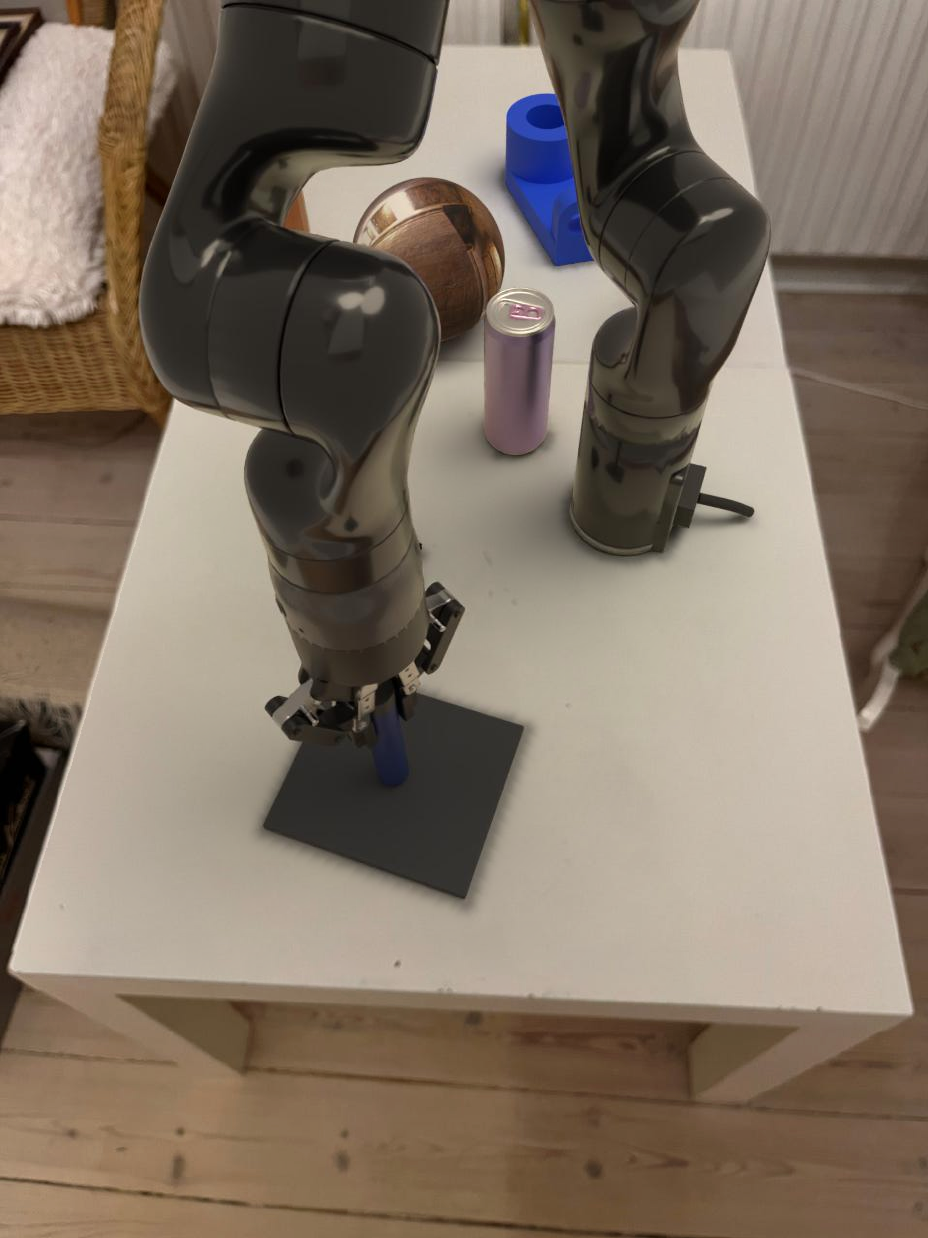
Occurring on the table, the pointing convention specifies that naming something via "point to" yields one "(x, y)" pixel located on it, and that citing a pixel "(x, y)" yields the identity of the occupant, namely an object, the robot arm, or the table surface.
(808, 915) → the table surface
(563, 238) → the bracket
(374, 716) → the marker
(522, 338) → the beverage can
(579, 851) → the table surface
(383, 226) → the wooden sphere
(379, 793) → the mat
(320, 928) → the table surface
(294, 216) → the pen cup
